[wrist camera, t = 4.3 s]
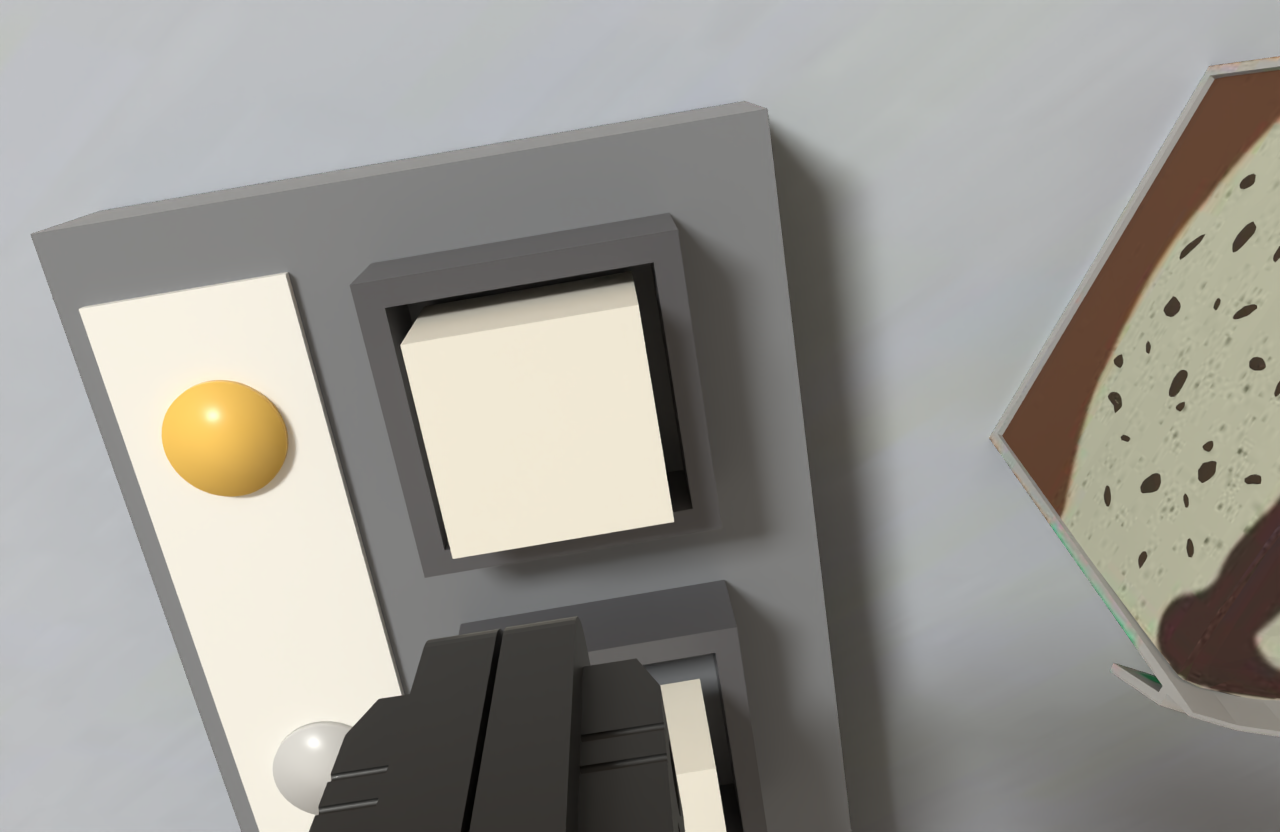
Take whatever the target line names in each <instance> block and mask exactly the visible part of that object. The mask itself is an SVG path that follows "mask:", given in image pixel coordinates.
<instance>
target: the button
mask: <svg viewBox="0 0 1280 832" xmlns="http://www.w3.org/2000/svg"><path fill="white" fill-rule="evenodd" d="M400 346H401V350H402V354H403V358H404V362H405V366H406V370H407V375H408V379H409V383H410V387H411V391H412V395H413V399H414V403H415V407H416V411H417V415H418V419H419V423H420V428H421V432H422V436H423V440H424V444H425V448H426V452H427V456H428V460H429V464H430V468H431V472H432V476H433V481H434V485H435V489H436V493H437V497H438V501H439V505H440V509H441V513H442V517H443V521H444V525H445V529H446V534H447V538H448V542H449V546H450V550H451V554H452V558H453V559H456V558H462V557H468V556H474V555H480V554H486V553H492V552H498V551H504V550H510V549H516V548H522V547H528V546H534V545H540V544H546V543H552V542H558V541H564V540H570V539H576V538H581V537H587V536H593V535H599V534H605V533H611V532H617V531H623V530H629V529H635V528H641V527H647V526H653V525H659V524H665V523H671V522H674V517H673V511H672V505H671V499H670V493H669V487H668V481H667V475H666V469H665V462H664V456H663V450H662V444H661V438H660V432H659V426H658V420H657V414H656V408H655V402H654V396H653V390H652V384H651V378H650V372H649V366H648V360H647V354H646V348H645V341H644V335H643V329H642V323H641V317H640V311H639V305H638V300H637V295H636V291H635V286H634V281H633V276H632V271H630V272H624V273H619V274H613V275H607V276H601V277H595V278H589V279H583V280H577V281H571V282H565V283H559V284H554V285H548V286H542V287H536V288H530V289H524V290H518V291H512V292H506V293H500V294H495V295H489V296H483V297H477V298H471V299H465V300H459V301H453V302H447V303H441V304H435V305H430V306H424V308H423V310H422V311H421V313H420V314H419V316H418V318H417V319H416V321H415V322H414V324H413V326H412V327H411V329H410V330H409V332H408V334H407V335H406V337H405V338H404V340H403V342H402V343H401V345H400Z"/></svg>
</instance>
